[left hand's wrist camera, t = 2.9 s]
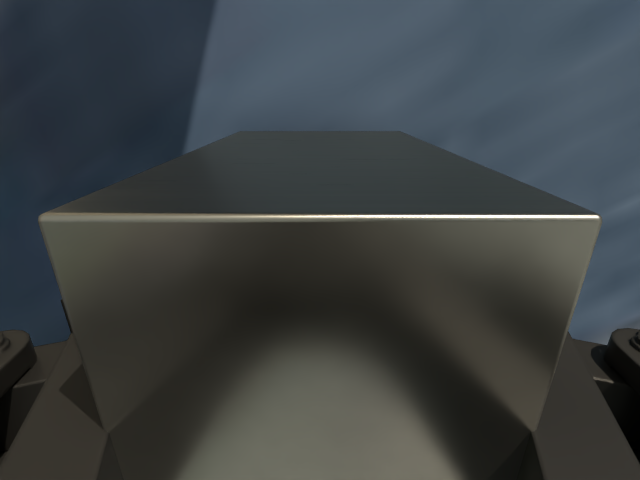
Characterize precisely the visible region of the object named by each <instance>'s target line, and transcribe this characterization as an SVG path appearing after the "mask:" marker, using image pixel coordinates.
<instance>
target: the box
mask: <svg viewBox="0 0 640 480" xmlns="http://www.w3.org/2000/svg"><path fill="white" fill-rule="evenodd" d="M38 223H39V226H40V229H41V233H42V236H43V239H44V242H45V245H46V248H47V252H48V255H49V258H50V261H51V264H52V267H53V271H54V274H55V277H56V280H57V283H58V286H59V290H60V293H61V296H62V299H63V302H64V305H65V309H66V312H67V315H68V318H69V321H70V325H71V328H72V331H73V334H74V337H75V340H76V344H77V347H78V350H79V353H80V356H81V359H82V363H83V366H84V369H85V372H86V375H87V378H88V382H89V385H90V388H91V391H92V394H93V397H94V401H95V404H96V407H97V410H98V413H99V416H100V420H101V423H102V426H103V429H104V430H105V431H107V432H109V433H110V437H111V440H112V443H113V446H114V450H115V453H116V456H117V459H118V463H119V466H120V469H121V472H122V475H123V479H124V480H516V479H517V476H518V472H519V469H520V466H521V463H522V459H523V456H524V453H525V450H526V446H527V443H528V440H529V437H530V433H531V431H534V430H537V427H538V423H539V420H540V417H541V414H542V411H543V408H544V404H545V401H546V398H547V395H548V392H549V389H550V385H551V382H552V379H553V376H554V373H555V370H556V366H557V363H558V360H559V357H560V354H561V351H562V347H563V344H564V341H565V338H566V335H567V332H568V328H569V325H570V322H571V319H572V316H573V313H574V309H575V306H576V303H577V300H578V297H579V294H580V290H581V287H582V284H583V281H584V278H585V275H586V271H587V268H588V265H589V262H590V259H591V256H592V253H593V249H594V246H595V243H596V240H597V237H598V234H599V230H600V227H601V224H602V217H601V216H600V215H599V214H597V213H595V212H592V211H590V210H588V209H585V208H583V207H580V206H578V205H576V204H573V203H571V202H568V201H566V200H564V199H561V198H559V197H556V196H554V195H552V194H549V193H547V192H544V191H542V190H540V189H537V188H535V187H532V186H530V185H528V184H525V183H523V182H520V181H518V180H516V179H513V178H511V177H508V176H506V175H504V174H501V173H499V172H496V171H494V170H492V169H489V168H487V167H484V166H482V165H480V164H477V163H475V162H472V161H470V160H468V159H465V158H463V157H460V156H458V155H456V154H453V153H451V152H448V151H446V150H444V149H441V148H439V147H436V146H434V145H432V144H429V143H427V142H424V141H422V140H420V139H417V138H415V137H412V136H410V135H408V134H405V133H403V132H400V131H240V132H237V133H235V134H232V135H230V136H228V137H225V138H223V139H220V140H218V141H216V142H213V143H211V144H208V145H206V146H204V147H201V148H199V149H196V150H194V151H192V152H189V153H187V154H184V155H182V156H180V157H177V158H175V159H172V160H170V161H168V162H165V163H163V164H160V165H158V166H156V167H153V168H151V169H148V170H146V171H144V172H141V173H139V174H136V175H134V176H132V177H129V178H127V179H125V180H122V181H120V182H117V183H115V184H113V185H110V186H108V187H105V188H103V189H101V190H98V191H96V192H93V193H91V194H89V195H86V196H84V197H81V198H79V199H77V200H74V201H72V202H69V203H67V204H65V205H62V206H60V207H57V208H55V209H53V210H50V211H48V212H45V213H43V214H41V215H40V216H39V218H38Z"/></svg>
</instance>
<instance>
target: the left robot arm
mask: <svg viewBox="0 0 640 480" xmlns="http://www.w3.org/2000/svg"><path fill="white" fill-rule="evenodd" d="M61 303H62V306H63V309H64V312H65V315H66V319H67V322H68V325H69V328H70V331H71V334H70V336H69V338H68V340H67V341H62V342H57V343H52V344H46V345H41V346H36V347H34V346H33V344H32V341H31V338H30V336H29V334H28V333H26V332H25V331H22V330H7V331H0V480H124V479H123V475H122V472H121V469H120V466H119V463H118V459H117V456H116V453H115V450H114V446H113V443H112V440H111V437H110V433H109V432H107V431H105V430H104V429H103V426H102V423H101V420H100V416H99V413H98V410H97V407H96V404H95V401H94V397H93V394H92V391H91V388H90V385H89V382H88V378H87V375H86V372H85V369H84V366H83V363H82V359H81V356H80V353H79V350H78V347H77V344H76V340H75V337H74V334H73V331H72V328H71V325H70V321H69V318H68V315H67V312H66V309H65V305H64V302H63V299H62V300H61ZM516 480H640V330H638V329H631V328H624V329H617V330H615V331H614V332H612V334H611V337H610V339H609V342H608V345H603V344H597V343H592V342H586V341H581V340H576V339H572V337H571V336H570V334H569V332H567V335H566V338H565V341H564V344H563V347H562V351H561V354H560V357H559V360H558V363H557V366H556V370H555V373H554V376H553V379H552V382H551V385H550V389H549V392H548V395H547V398H546V401H545V404H544V408H543V411H542V414H541V417H540V420H539V423H538V427H537V430H534V431H531V433H530V437H529V440H528V443H527V446H526V450H525V453H524V456H523V459H522V463H521V466H520V469H519V472H518V476H517V479H516Z"/></svg>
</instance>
